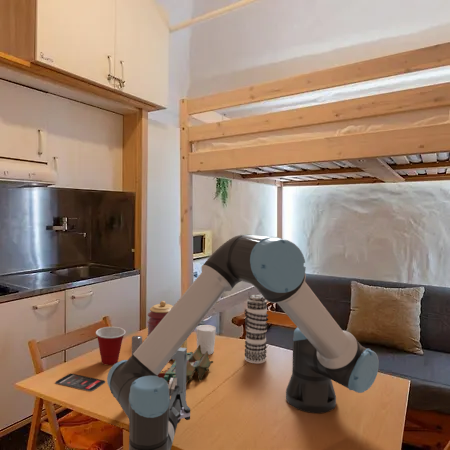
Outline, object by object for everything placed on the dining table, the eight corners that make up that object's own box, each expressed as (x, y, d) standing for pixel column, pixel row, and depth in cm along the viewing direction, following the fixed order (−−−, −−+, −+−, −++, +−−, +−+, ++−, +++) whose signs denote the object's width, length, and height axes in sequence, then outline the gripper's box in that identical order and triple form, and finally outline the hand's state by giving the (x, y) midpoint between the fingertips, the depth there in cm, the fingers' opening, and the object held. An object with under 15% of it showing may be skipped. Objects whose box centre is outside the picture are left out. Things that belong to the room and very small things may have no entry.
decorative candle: (238, 357, 148) (240, 295, 147) (257, 353, 153) (258, 292, 152) (253, 365, 140) (254, 299, 139) (271, 360, 145) (273, 297, 144)
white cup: (194, 349, 155) (194, 325, 155) (212, 347, 158) (212, 324, 157) (198, 356, 148) (198, 331, 147) (217, 354, 150) (218, 330, 150)
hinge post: (142, 401, 112) (143, 335, 112) (139, 406, 109) (140, 339, 109) (132, 400, 112) (133, 335, 112) (129, 406, 109) (130, 338, 109)
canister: (167, 333, 174) (167, 296, 173) (182, 341, 164) (183, 301, 163) (142, 339, 166) (142, 299, 165) (156, 347, 156) (157, 306, 155)
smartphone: (91, 390, 117) (54, 382, 122) (91, 392, 117) (54, 384, 122) (106, 380, 124) (70, 373, 129) (106, 383, 124) (70, 375, 129)
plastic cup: (111, 370, 133) (111, 337, 132) (88, 364, 138) (89, 332, 137) (131, 360, 143) (131, 329, 142) (109, 354, 147) (110, 324, 147)
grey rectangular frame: (144, 407, 109) (145, 346, 108) (147, 403, 111) (148, 343, 111) (182, 413, 106) (183, 351, 105) (185, 409, 108) (186, 348, 108)
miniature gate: (144, 344, 151) (217, 344, 146) (145, 357, 151) (218, 358, 146) (114, 372, 124) (202, 374, 119) (115, 389, 124) (203, 391, 119)
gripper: (127, 447, 83) (150, 394, 106) (187, 449, 82) (197, 396, 106) (128, 414, 82) (150, 368, 106) (188, 415, 82) (197, 370, 106)
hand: (173, 382), depth 106 cm, fingers closed
